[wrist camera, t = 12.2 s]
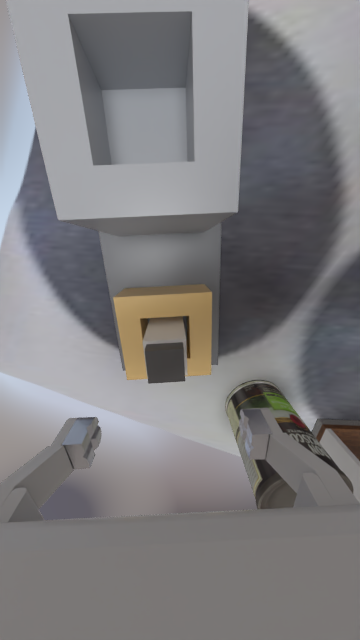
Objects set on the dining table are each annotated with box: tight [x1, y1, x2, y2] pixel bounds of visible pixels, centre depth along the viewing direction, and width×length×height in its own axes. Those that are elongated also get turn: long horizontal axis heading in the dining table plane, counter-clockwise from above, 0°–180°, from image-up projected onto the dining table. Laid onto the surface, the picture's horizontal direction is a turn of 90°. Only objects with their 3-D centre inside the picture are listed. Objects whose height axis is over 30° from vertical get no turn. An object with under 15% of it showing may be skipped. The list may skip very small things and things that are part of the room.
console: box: [6, 0, 249, 380], centre depth 18 cm, size 14×30×14 cm, turn 3°
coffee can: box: [225, 380, 354, 509], centre depth 27 cm, size 10×10×14 cm
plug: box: [143, 316, 188, 383], centre depth 21 cm, size 4×4×10 cm
